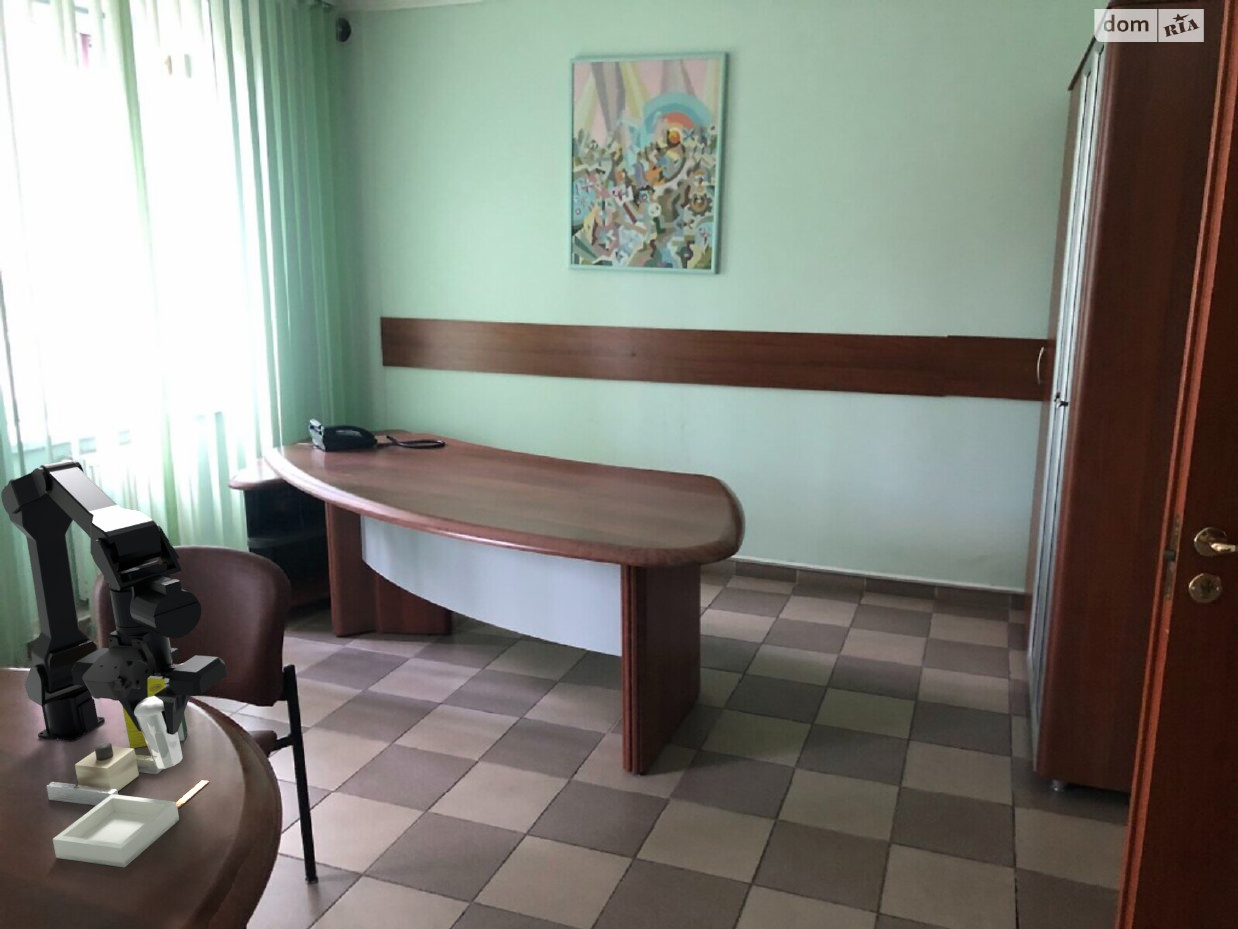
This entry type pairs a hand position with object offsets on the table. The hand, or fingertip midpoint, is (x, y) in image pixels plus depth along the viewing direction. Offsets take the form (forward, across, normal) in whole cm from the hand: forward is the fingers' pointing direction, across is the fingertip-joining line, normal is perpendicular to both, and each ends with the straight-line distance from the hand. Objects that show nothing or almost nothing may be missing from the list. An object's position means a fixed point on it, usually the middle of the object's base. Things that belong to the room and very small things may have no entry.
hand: (158, 731), depth 125 cm
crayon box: (+9, -11, +12) cm, 18 cm away
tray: (+9, +1, -10) cm, 13 cm away
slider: (+9, -9, 0) cm, 13 cm away
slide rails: (+9, -5, 0) cm, 10 cm away
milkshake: (+5, +1, 0) cm, 5 cm away
